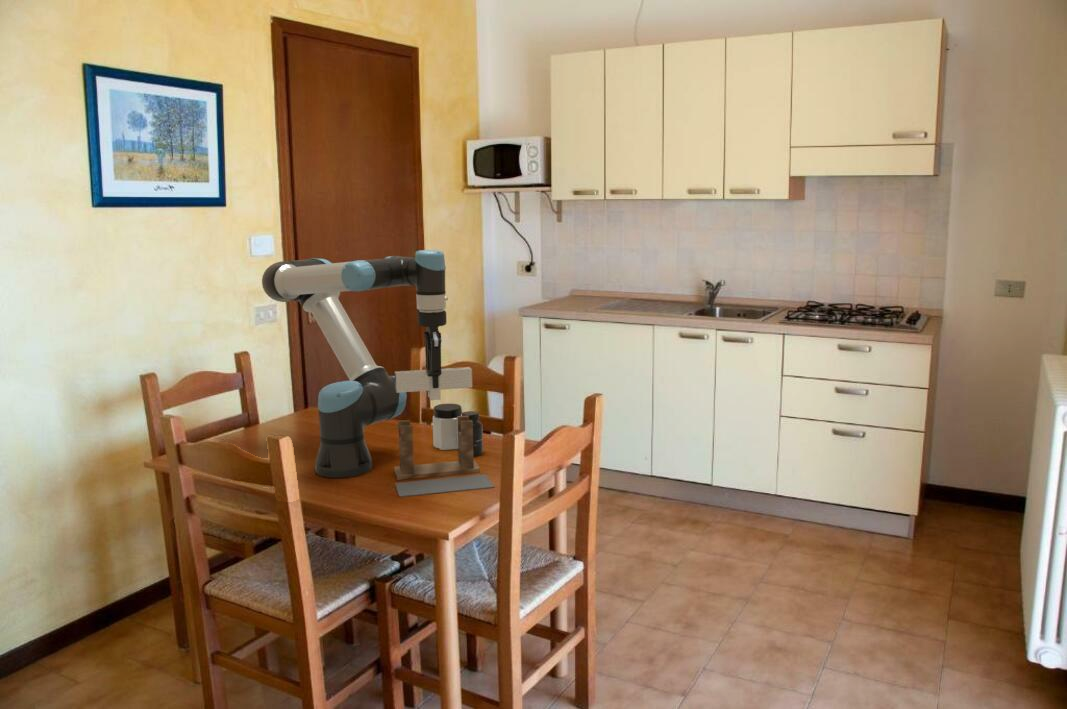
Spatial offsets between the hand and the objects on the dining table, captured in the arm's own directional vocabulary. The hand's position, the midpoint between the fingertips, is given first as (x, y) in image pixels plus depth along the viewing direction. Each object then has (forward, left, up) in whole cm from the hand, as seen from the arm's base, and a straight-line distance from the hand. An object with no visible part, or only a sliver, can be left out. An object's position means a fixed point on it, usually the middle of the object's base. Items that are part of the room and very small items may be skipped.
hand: (434, 397), depth 224 cm
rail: (0, 0, +2) cm, 2 cm away
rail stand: (0, 0, -20) cm, 20 cm away
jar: (+7, +22, -21) cm, 31 cm away
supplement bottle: (+12, +13, -21) cm, 27 cm away
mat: (0, -12, -20) cm, 24 cm away
